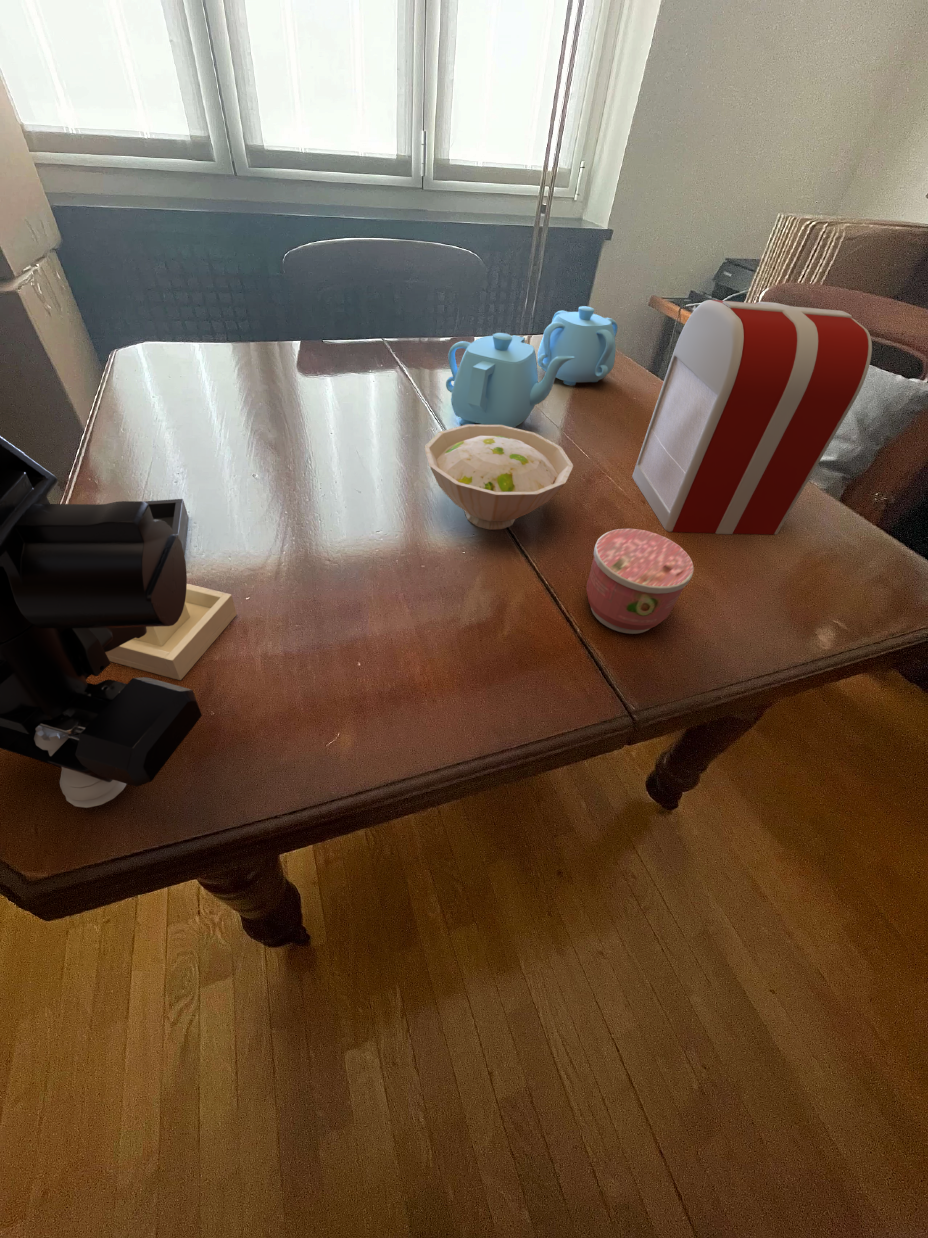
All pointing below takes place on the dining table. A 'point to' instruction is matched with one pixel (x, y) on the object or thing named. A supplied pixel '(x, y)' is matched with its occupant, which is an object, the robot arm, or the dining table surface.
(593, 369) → the decorative pot
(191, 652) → the cream tray
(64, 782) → the rook chess piece
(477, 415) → the teapot
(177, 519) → the charcoal tray
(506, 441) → the bowl
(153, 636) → the cream block
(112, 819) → the dining table surface
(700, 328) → the red striped display case
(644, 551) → the container
